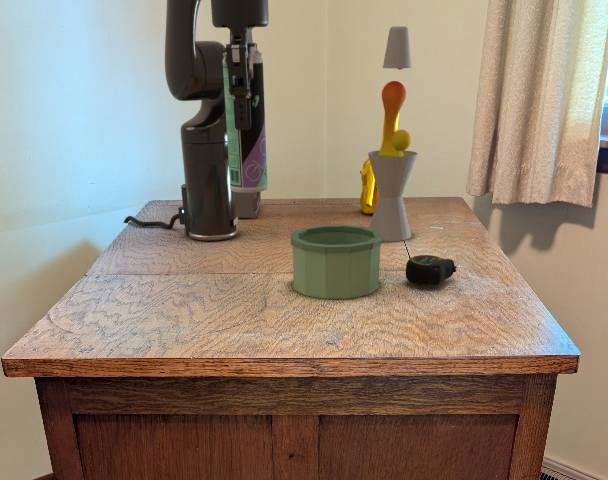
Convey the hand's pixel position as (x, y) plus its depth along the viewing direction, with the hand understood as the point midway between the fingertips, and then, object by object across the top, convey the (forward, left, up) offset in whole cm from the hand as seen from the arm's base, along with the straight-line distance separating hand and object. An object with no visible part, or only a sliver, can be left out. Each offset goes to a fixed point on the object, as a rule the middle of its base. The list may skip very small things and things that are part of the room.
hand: (245, 126), depth 102 cm
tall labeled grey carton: (-30, +45, -23) cm, 59 cm away
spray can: (0, 0, -9) cm, 9 cm away
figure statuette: (-4, +57, -23) cm, 62 cm away
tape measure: (+25, +13, -23) cm, 36 cm away
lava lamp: (+7, +39, -23) cm, 45 cm away
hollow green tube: (+12, +6, -23) cm, 26 cm away
